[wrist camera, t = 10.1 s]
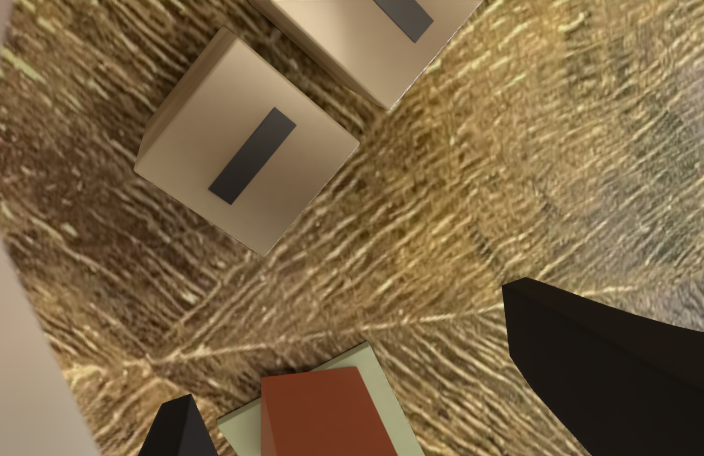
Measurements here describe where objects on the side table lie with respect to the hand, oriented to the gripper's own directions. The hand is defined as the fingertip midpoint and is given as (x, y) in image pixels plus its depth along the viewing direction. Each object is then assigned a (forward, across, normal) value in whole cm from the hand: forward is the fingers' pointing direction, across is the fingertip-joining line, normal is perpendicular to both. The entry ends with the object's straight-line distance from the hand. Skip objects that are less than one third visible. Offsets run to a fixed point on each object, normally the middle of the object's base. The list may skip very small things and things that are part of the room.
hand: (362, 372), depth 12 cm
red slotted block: (+9, +2, +8) cm, 12 cm away
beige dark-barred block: (+9, +1, -4) cm, 10 cm away
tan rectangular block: (+9, -3, -7) cm, 12 cm away
